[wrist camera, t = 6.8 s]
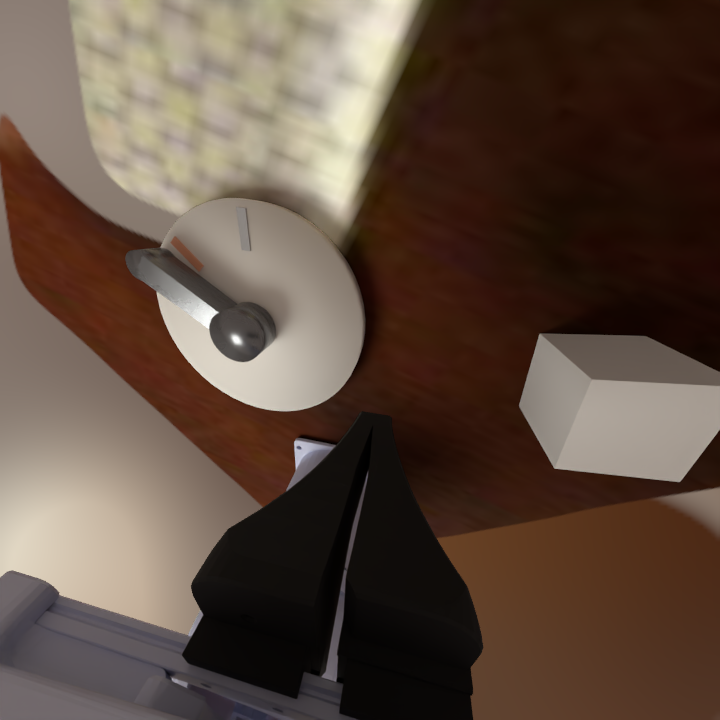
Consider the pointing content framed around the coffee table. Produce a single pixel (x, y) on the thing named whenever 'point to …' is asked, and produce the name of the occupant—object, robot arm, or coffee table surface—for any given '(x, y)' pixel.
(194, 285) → the dial pointer
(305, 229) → the dial plate
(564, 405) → the white cube
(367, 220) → the coffee table surface
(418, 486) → the coffee table surface
